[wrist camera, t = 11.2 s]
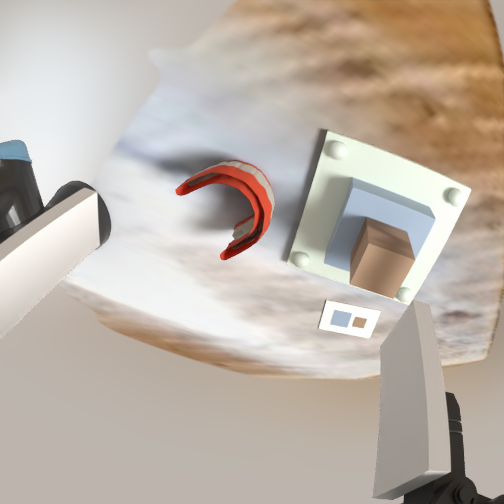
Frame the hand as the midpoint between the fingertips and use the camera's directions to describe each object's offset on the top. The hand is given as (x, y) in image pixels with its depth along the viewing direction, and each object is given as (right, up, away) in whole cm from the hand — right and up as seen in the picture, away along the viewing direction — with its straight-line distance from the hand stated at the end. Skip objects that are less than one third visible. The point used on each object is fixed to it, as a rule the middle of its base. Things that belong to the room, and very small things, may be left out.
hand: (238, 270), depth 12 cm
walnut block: (+17, +2, +29) cm, 34 cm away
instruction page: (+18, -11, +43) cm, 48 cm away
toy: (0, +10, +36) cm, 38 cm away
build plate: (+19, +5, +33) cm, 38 cm away
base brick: (+19, +4, +32) cm, 37 cm away
